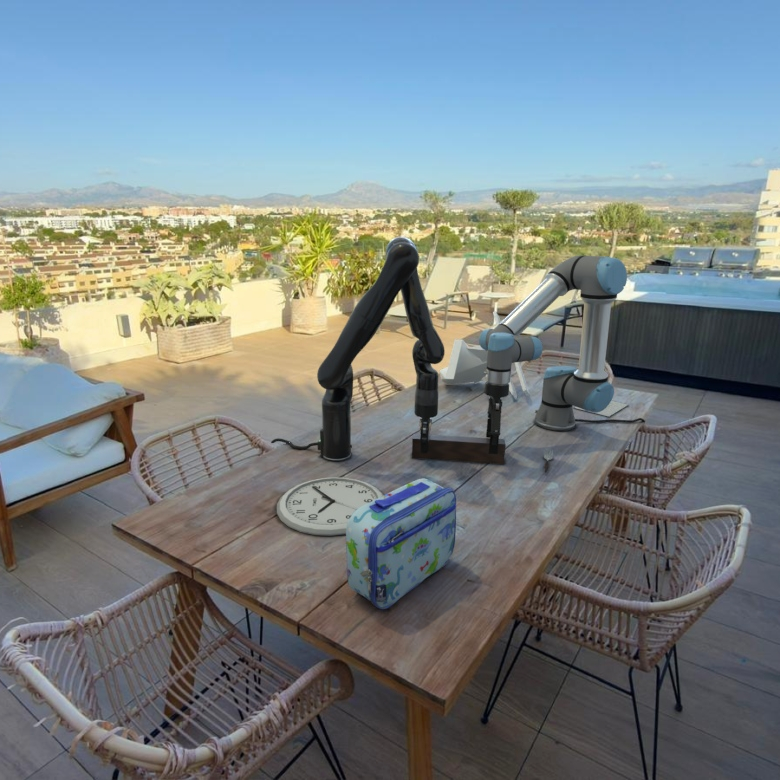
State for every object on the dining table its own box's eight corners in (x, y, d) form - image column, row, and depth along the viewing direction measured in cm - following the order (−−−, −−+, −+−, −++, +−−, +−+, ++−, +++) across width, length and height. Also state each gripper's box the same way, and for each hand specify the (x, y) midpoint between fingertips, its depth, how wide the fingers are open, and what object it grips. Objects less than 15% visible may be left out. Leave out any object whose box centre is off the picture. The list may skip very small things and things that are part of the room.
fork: (540, 473, 163) (541, 467, 163) (544, 453, 178) (545, 448, 177) (549, 474, 162) (550, 468, 162) (552, 454, 177) (553, 449, 176)
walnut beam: (502, 458, 174) (504, 439, 172) (503, 464, 169) (505, 444, 167) (412, 452, 177) (413, 433, 175) (411, 458, 173) (412, 438, 171)
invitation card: (608, 416, 214) (573, 407, 224) (608, 416, 214) (573, 408, 224) (628, 404, 229) (594, 396, 238) (628, 405, 229) (594, 397, 238)
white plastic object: (461, 429, 252) (437, 405, 227) (444, 352, 274) (420, 323, 250) (535, 404, 240) (518, 377, 215) (510, 326, 262) (492, 293, 237)
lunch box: (375, 622, 100) (376, 527, 94) (339, 595, 108) (338, 505, 101) (459, 565, 118) (465, 481, 112) (424, 545, 125) (427, 465, 119)
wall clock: (392, 527, 129) (268, 531, 127) (391, 533, 130) (269, 537, 127) (383, 473, 158) (282, 475, 155) (383, 478, 158) (282, 480, 156)
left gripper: (416, 393, 176) (414, 440, 181) (413, 407, 162) (411, 457, 167) (438, 394, 175) (436, 441, 180) (437, 408, 161) (435, 459, 167)
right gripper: (483, 371, 176) (478, 430, 182) (487, 393, 153) (481, 459, 159) (505, 373, 176) (500, 432, 182) (513, 395, 152) (506, 461, 158)
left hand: (424, 449), depth 174 cm, fingers closed on walnut beam, 4 cm apart
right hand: (491, 445), depth 170 cm, fingers open, 13 cm apart
